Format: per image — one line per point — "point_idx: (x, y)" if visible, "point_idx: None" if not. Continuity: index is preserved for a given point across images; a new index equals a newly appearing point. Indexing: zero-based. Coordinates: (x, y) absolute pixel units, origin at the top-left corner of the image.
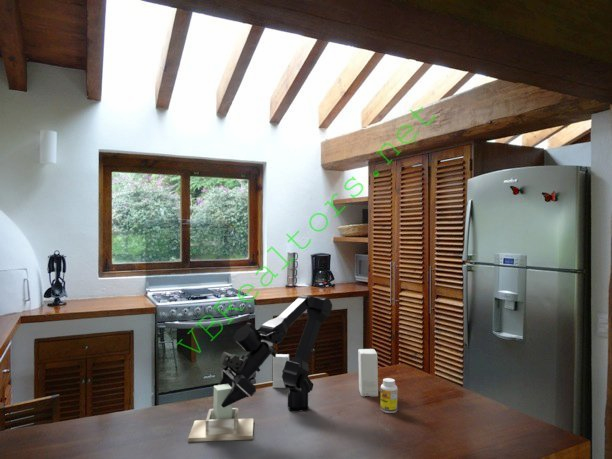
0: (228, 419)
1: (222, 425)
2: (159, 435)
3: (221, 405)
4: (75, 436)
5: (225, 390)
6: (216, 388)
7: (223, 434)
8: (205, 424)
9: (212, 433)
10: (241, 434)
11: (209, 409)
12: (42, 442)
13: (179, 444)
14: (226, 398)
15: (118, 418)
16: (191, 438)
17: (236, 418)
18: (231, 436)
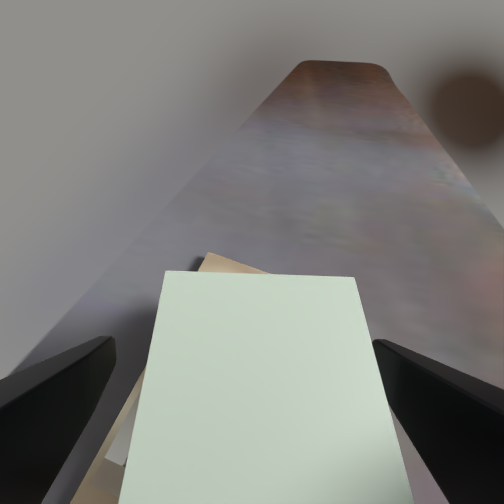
0: (135, 415)
1: None
2: (289, 205)
3: (101, 336)
4: (336, 105)
5: (145, 396)
6: (242, 280)
7: None
8: None
9: None
10: (98, 496)
11: None
12: (325, 80)
13: (205, 235)
14: (19, 372)
15: (415, 156)
16: (203, 261)
17: (114, 489)
18: (115, 421)
